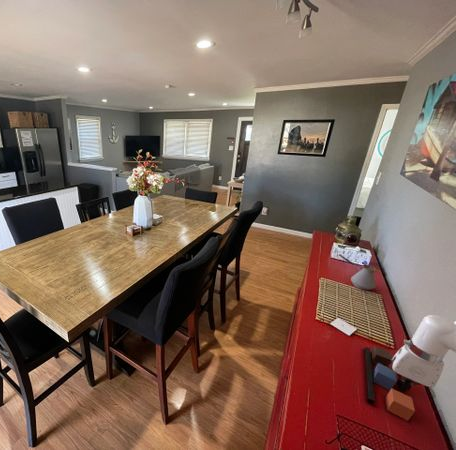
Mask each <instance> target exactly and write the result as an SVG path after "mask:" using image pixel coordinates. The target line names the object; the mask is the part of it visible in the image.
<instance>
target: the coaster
mask: <svg viewBox="0 0 456 450" xmlns="http://www.w3.org/2000/svg"><path fill="white" fill-rule="evenodd" d="M329 324H330V325H331V326H333V327H334V328H336V329H337V330H339V331H341V332H342V333H344V334H346V335H347V336H351V335H352V334H353V333H354V332H356V331H357V330H358V328H357V327H355V326H353V325H351V324H350V323H348V322H346V321H345V320H343V319H341V318H339V317H337V318H335V319H334V320H333V321H331V322H330V323H329Z"/></svg>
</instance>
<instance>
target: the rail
mask: <svg viewBox="0 0 456 450" xmlns="http://www.w3.org/2000/svg"><path fill="white" fill-rule="evenodd" d="M363 360H364V375H365V393H366V395H365V396H366V403H367V404H369V405H372V406H373V405H374V404H375V387H374V382H373V366H372V365H373V364H372V363H371V348H370V347H367V346H365V347H364V349H363Z"/></svg>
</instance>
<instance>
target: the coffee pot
mask: <svg viewBox="0 0 456 450" xmlns="http://www.w3.org/2000/svg"><path fill="white" fill-rule="evenodd" d="M338 257H340V258H342V259H343V260H344V261H345V262H347V263H349V264H350V265H352V266H353V267H354V268H356V269H358V270H359V271H358V272H356V273H355V274H354V275H353V276H351V277H350V281H351V283H352V284H353V286H354V287H356V288H358V289H359V290H362V291H371V290H374V289H375V288H376V287H377V283H376V279H375V277H376V276H375V272H377V270H378V269H377V268H376V267H374V266H372V265H370V264H362V265H361V268H360V267H359V266H357V264H355V263H354V262H352V261H351V260H350V259H348V258H346V257H345V256H344V255H342V254H340V253H339V254H338V255H337V258H338Z"/></svg>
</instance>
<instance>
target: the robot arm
mask: <svg viewBox="0 0 456 450" xmlns="http://www.w3.org/2000/svg"><path fill="white" fill-rule="evenodd" d="M402 342H403V344H404V345H402V346H401V347H400V348H399V349H398V350H397V352H396V353H395V354H394V355H393V356H392V358H393V359H392V363H391V364H389V365H388V366H389V369H390V370H392V371H394V372H396V376H398V379H396V386H398V390H399V391H400V392H402V393H404V394H405V393H407V391H410V390H411V388H412V387H415V386H416V385H419V386H420V385H423V386H425V387H427V388H434V387H436V385H437V384H438V382H439V380H440V377H441V375H442V373H443V370H444V367H445V366H444V365H445V363H444V361H443V359H444V358H445V356H446V355H447V354H448V352H449V351H450V350H451V351H452V352H454V353H456V320H455V321H452V320H450V319H448V318H446V317H443V316H440V315H437V314H429V315H426V316H424V318H423V319H422V320H421V322H420V324H419V326H418V327H417V329H416V331H415V332H414V333H413V335H412V337H411V338H410V339H405V338H404V339H403V341H402Z"/></svg>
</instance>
